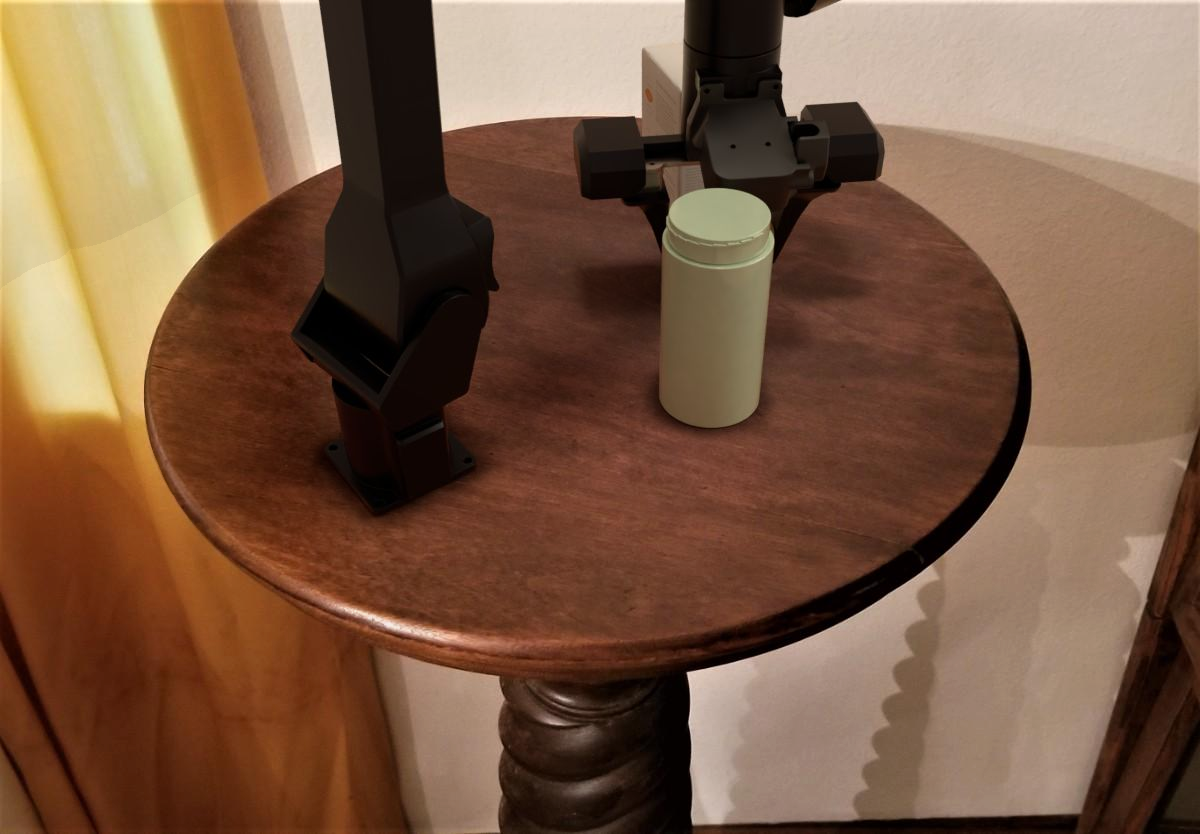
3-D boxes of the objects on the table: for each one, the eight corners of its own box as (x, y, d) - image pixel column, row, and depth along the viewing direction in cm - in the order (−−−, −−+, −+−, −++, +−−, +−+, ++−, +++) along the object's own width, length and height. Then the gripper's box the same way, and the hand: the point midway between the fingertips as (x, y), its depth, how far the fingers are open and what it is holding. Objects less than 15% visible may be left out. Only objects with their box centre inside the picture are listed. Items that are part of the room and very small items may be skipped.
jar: (638, 394, 69) (639, 211, 61) (707, 352, 72) (717, 173, 64) (710, 442, 66) (721, 256, 57) (780, 397, 69) (800, 214, 60)
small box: (747, 214, 85) (758, 78, 78) (676, 227, 83) (680, 90, 76) (706, 164, 90) (713, 34, 84) (639, 176, 89) (640, 44, 82)
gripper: (586, 109, 60) (593, 347, 70) (933, 87, 62) (890, 324, 72) (568, 27, 69) (576, 250, 79) (873, 9, 70) (842, 230, 80)
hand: (718, 264), depth 77 cm, fingers closed on jar lid, 6 cm apart
